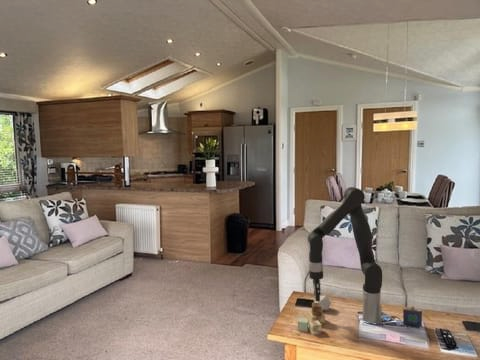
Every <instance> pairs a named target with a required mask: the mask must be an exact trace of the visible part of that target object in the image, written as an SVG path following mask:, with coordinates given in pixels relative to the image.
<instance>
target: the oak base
mask: <svg viewBox="0 0 480 360" xmlns="http://www.w3.org/2000/svg"><path fill="white" fill-rule="evenodd" d="M317 320H318V321H319V322H320V324H321V326H326V316H325V313H323V311H322V316H319V315H312V310H309V312H308V321H317Z"/></svg>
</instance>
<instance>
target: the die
mask: <svg viewBox="0 0 480 360" xmlns="http://www.w3.org/2000/svg"><path fill="white" fill-rule="evenodd" d="M314 303H321V306H322V312H323V311H328V310H329V309H330V306H331V304H332V303H331V301H330V299H329V298H328V296H327V295H320V301H316V300H315V301H314Z"/></svg>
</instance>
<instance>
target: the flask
mask: <svg viewBox="0 0 480 360" xmlns="http://www.w3.org/2000/svg"><path fill="white" fill-rule="evenodd" d="M402 313H403V314H402V319H403V320H402V322H403V323H402V325H403V324H404V325H406V326H405V327H408V326H410V328H423V310H422V309H419V308H415V306H414V305H413V306H411V307H404V308H403V310H402ZM404 325H403V326H404Z"/></svg>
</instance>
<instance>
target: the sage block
mask: <svg viewBox="0 0 480 360" xmlns="http://www.w3.org/2000/svg"><path fill="white" fill-rule="evenodd" d="M308 330H309V317H308V318H307V317H298V320H297V331H298V332H305V333H307V332H308Z"/></svg>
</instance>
